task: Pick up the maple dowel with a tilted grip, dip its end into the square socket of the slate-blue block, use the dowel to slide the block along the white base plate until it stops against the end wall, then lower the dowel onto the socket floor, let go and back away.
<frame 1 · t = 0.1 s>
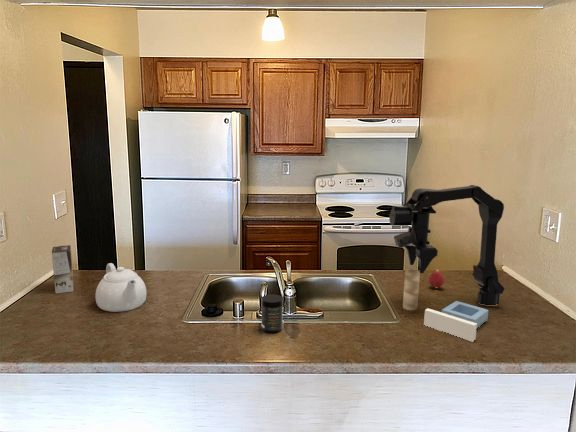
hand: (416, 268, 162), 15 cm above the counter, tool pointing down, fingers open, 9 cm apart
onion: (435, 289, 184), on the counter
dowel: (409, 309, 164), on the counter
coffee box: (64, 289, 178), on the counter
supplement container: (271, 329, 146), on the counter
teapot: (121, 303, 165), on the counter
socket block: (464, 315, 153), point 3 cm above the counter, slide at 0.0 cm
white base plate: (460, 325, 151), on the counter
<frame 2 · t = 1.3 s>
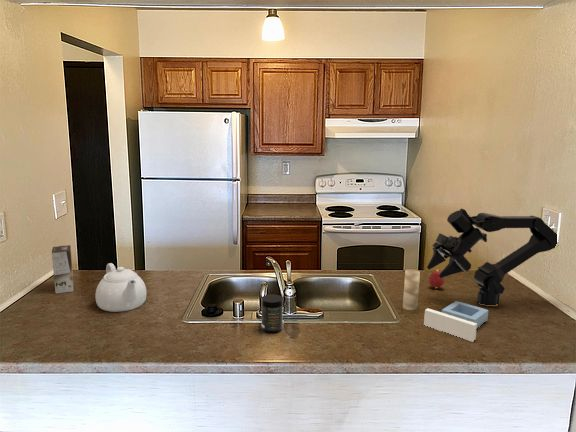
hand: (433, 272, 162), 13 cm above the counter, tool tilted 45°, fingers open, 9 cm apart
nothing on the counter moved.
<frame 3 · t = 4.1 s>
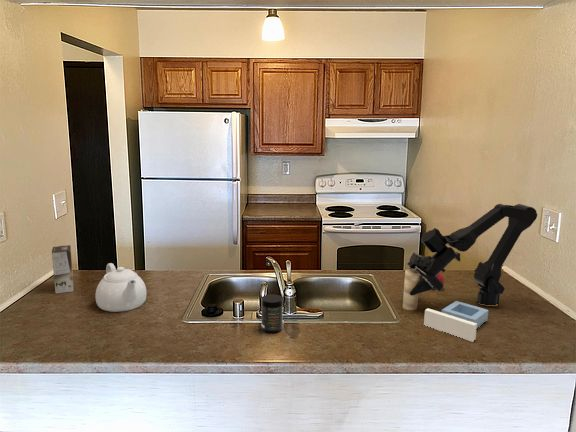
hand: (407, 291, 162), 7 cm above the counter, tool tilted 45°, fingers closed on dowel, 5 cm apart
dowel: (409, 309, 164), on the counter, touching gripper
everything else where it was.
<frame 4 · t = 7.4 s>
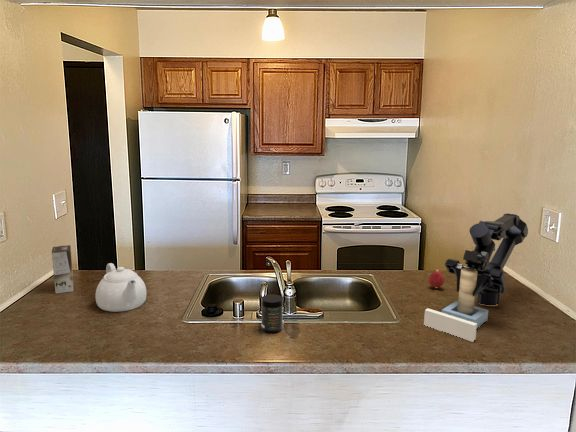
hand: (465, 293, 150), 11 cm above the counter, tool tilted 45°, fingers closed on dowel, 5 cm apart
dowel: (465, 311, 152), point 4 cm above the counter, touching gripper
everything else where it was.
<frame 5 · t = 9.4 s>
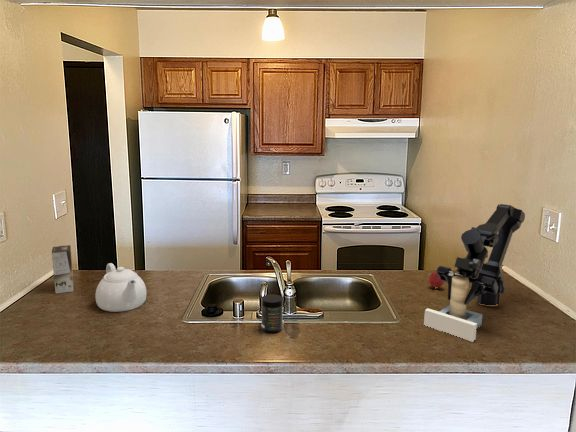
hand: (456, 301, 146), 10 cm above the counter, tool tilted 45°, fingers closed on dowel, 5 cm apart
dowel: (456, 319, 148), point 3 cm above the counter, touching gripper
socket block: (458, 320, 149), point 3 cm above the counter, slide at 5.1 cm, touching white base plate
everything else where it was.
when the fingers open (9 cm above the counter, at t = 10.7 s): dowel stays where it is, resting on socket block.
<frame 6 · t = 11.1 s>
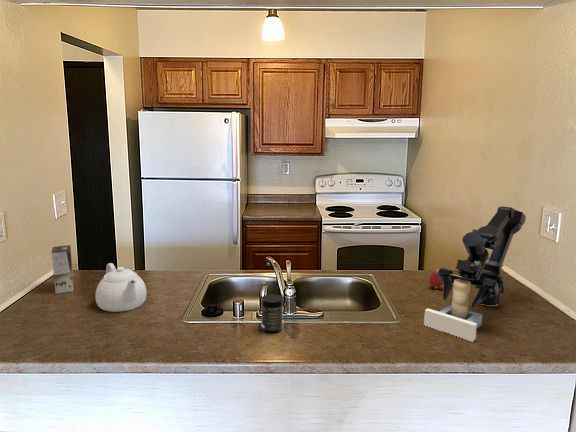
hand: (458, 303, 147), 9 cm above the counter, tool tilted 45°, fingers open, 9 cm apart
dowel: (458, 322, 149), point 2 cm above the counter, touching socket block
socket block: (458, 320, 149), point 3 cm above the counter, slide at 5.1 cm, touching dowel
everything else where it was.
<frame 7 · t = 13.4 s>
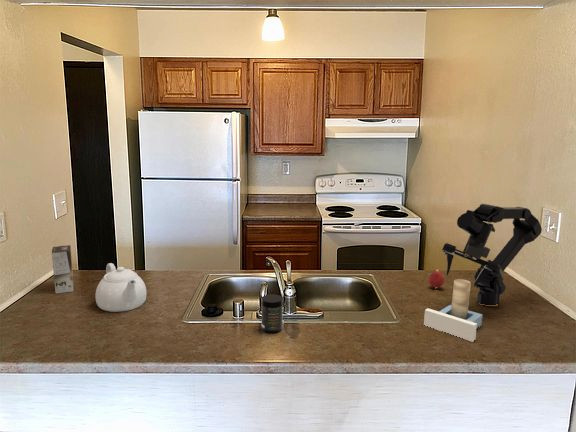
hand: (460, 280, 157), 12 cm above the counter, tool tilted 25°, fingers open, 9 cm apart
nothing on the counter moved.
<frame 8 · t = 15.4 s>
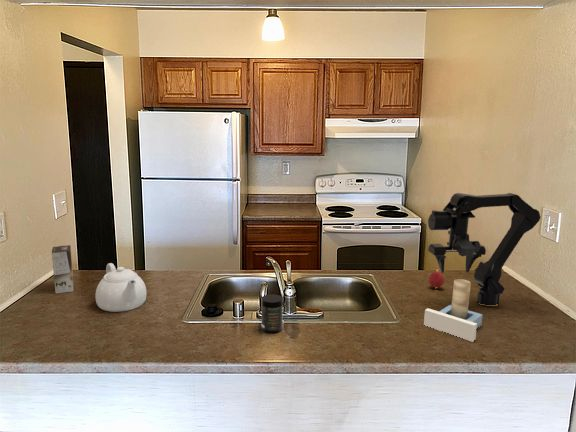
hand: (454, 272, 164), 13 cm above the counter, tool pointing down, fingers open, 9 cm apart
nothing on the counter moved.
at the end: socket block slide at 5.1 cm; dowel 0.3 cm from the target spot, point 1.7 cm above the counter; dowel tilted 0° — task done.
